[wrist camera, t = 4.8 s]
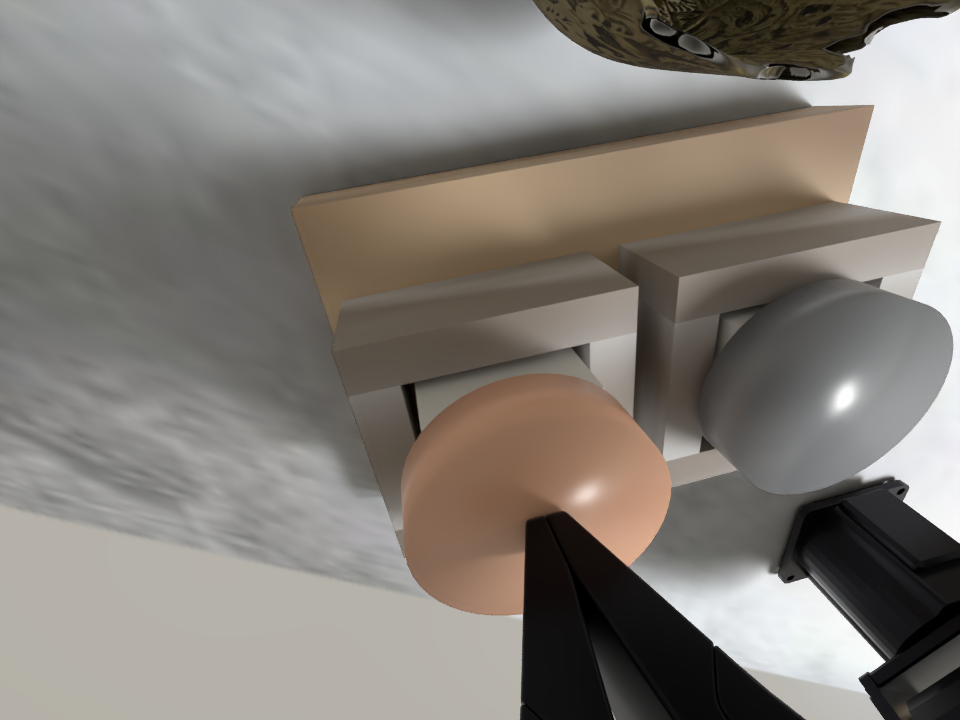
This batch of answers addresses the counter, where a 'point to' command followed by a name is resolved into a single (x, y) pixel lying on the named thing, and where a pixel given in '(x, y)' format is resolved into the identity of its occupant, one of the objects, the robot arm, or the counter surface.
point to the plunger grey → (821, 382)
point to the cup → (735, 33)
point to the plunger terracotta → (521, 475)
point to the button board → (594, 267)
